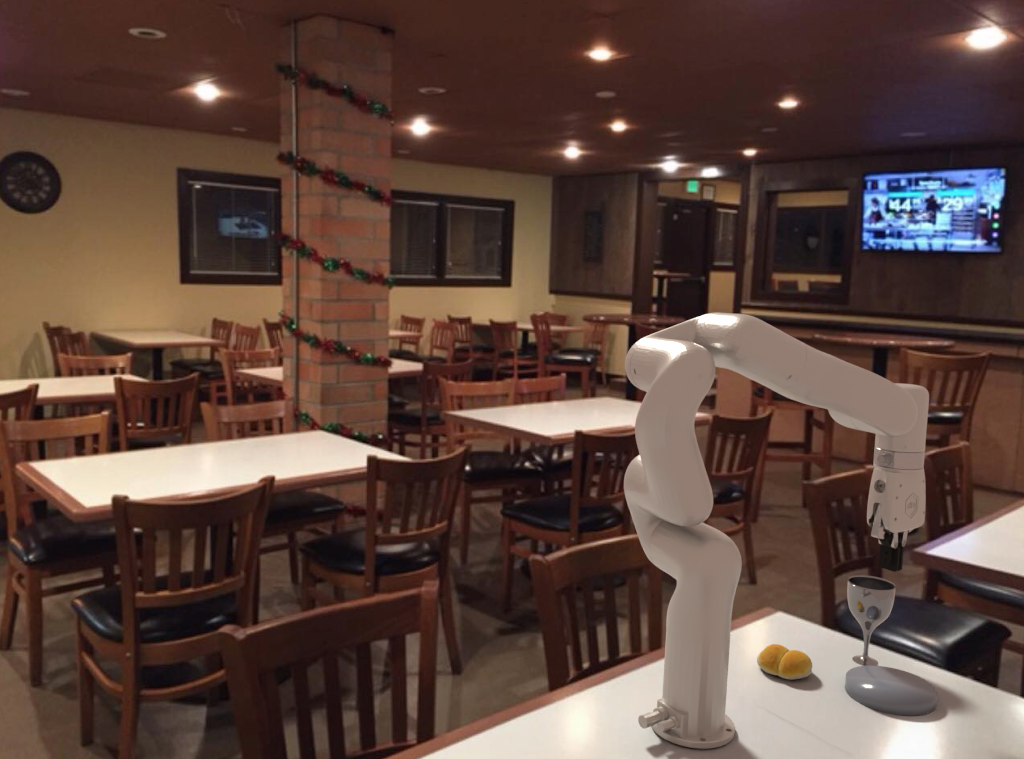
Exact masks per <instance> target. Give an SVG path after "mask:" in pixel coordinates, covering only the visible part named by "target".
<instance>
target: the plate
mask: <svg viewBox="0 0 1024 759" xmlns="http://www.w3.org/2000/svg"><path fill="white" fill-rule="evenodd" d="M844 689H845V692H846V694H848V696H849V697H851V699H853V700H854V701H856V702H857V703H859V704H860V705H861V704H862V705H863V706H865V707H868V708H870V709H873V710H875V711H879V712H882V713H886V714H891V715H897V716H903V717H904V716H905V717H908V716H909V717H916V716H917V717H918V716H924V715H925V716H926V715H927V714H930V713H932V712H934V711H935V710H936V707H937V702H938V700H937V699H938V691H937V688H935V686H934V685H933V684H932V683H931V682H929V681H928V680H926V679H924V677H923V678H922V677H920V676H919V675H916V674H913V673H912V672H909V671H905V670H902V669H898V668H894V667H890V666H881V665H877V666H863V665H860V666H856V667H852V668H850V669H849V670H847V671H846V674H845V682H844Z"/></svg>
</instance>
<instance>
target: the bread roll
mask: <svg viewBox="0 0 1024 759" xmlns="http://www.w3.org/2000/svg"><path fill="white" fill-rule="evenodd" d="M756 662H757V665H758V667H759V668H760V669H761V670H762V671H764V672H765V673H766V674H770V675H773V676H778V677H780V678H782V679H784V680H799V679H804V678H807V677H808V676H810V675H811V674H812V671H813V670H812V669H813V661H812V659H811V658H810V656H809V655H807V653H805V652H803V651H800V650H795V649H789V648H787V647H786V646H784V645H782V644H779V643H777V644H776V643H775V644H769V645H768V646H766V647H764V648H763V650H761V651H760V652H759V654H758V656H757V657H756Z"/></svg>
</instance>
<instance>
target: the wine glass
mask: <svg viewBox="0 0 1024 759" xmlns="http://www.w3.org/2000/svg"><path fill="white" fill-rule="evenodd" d="M846 590H847V592H846V594H847V596H846V597H847V603H848V608H849V611H850V612H851V614H852V616H853V617H854V618H855V620H856V621H857V622H858V624H859V625H860V627H861V630H862V634H863V652H862V655H854V656H853V657H852V658H851V659H852V661H853V662H854V663H855V664H858V665H860V666H879V661H878V660H877V659H876V658H873V657H871V656H870V655H869V647H870V642H871V636H872V633H873V632H874V631H875V629H876V628H877V627H878V626H880V625H881V624H882V623H884V622H885V620H887V619H888V617H890V615H891V612H892V610H893V606H894V603H895V597H896V596H895V595H896V584H895V583H894V582H893V581H890V580H889V579H888V580H887V579H886V578H882V577H878V576H874V575H873V576H872V575H865V574H864V575H863V574H862V575H861V574H859V575H851V576H849V577H848V579H847V589H846Z"/></svg>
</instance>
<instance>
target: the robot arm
mask: <svg viewBox="0 0 1024 759" xmlns="http://www.w3.org/2000/svg"><path fill="white" fill-rule="evenodd" d="M716 368H721V369H727V370H730V371H732V372H735V373H737V374H740V375H741V376H743V377H745V378H747V379H749V380H751V381H754V382H756V383H758V384H760V385H761V386H764V387H766V388H768V389H770V390H771V391H773V392H775V393H777V394H779V395H781V396H783V397H785V398H787V399H790V400H792V401H796V402H799V403H801V404H805V405H807V406H812V407H815V408H821V409H825V410H827V411H828V414H829V416H830V417H831V418H832V419H833V420H834V421H835V422H836V423H838V424H839V425H841V426H843V427H846V428H848V429H852V430H857V431H861V432H868V433H869V434H870V433H871V434H874V435H875V439H874V449H873V450H874V452H873V465H872V467H873V470H872V471H873V472H872V474H871V478H870V485H869V489H868V490H869V491H868V497H867V498H868V499H867V509H866V522H867V525H868V526H869V527H870V528H871V532H870V536H871V537H873V538H876V539H878V544H879V546H880V547H879V558H878V559H879V560H878V566H879V568H880V569H884V570H888V571H889V572H894V573H896V572H898V571H902V570H903V562H904V549H905V546H906V544H907V539H908V538H907V537H908V535H909V533H911V532H912V531H914V529H917V528H920V527H922V526H923V525H924V524H925V520H926V504H927V503H926V502H927V501H926V500H927V499H926V497H927V496H926V495H927V494H926V492H927V490H926V489H927V488H926V474H925V468H924V466H925V456H926V442H927V441H926V440H927V428H928V427H927V426H928V418H929V417H928V416H929V415H928V414H929V404H930V393H929V391H928V389H927V388H926V387H924V386H922V385H920V384H919V385H918V384H912V383H900V382H899V383H898V382H896V383H894V382H893V381H891V380H889V379H887V378H885V377H883V376H881V375H879V374H877V373H875V372H873V371H870V370H868V369H866V368H863V367H860V366H858V365H856V364H853V363H851V362H847V361H845V360H843V359H841V358H838V357H837V356H835V355H832V354H830V353H827V352H824V351H821V350H820V349H817V348H815V347H813V346H811V345H809V344H807V343H806V342H803V341H801V340H799V339H797V338H796V337H793V336H791V335H789V334H788V333H786V332H784V331H783V330H781V329H779V328H777V327H775V326H773V325H771V324H769V323H767V322H766V321H764V320H762V319H760V318H759V317H756V316H753V315H749V314H743V313H731V312H730V313H729V312H717V311H716V312H710V313H705V314H702V315H700V316H696V317H693V318H690V319H688V320H685V321H683V322H681V323H677V324H675V325H672V326H670V327H667V328H664V329H661V330H658V331H656V332H654V333H651V334H649V335H646V336H643V337H642V338H640V339H639V340H637V341H636V342H635V343H633V345H631V347H630V348H629V350H628V351H627V354H626V356H625V361H624V371H625V374H626V377H627V378H628V380H629V381H630V384H632V385H633V386H634V387H636V388H637V389H638V390H641V391H642V392H645V395H644V397H643V400H642V402H641V404H640V407H639V408H638V412H637V415H636V418H635V423H634V424H635V425H634V435H635V441H636V445H637V450H638V453H639V454H638V455H637V456H635V457H634V458H633V459H632V460H631V461H630V463H629V464H628V466H627V468H626V470H625V473H624V478H623V491H624V496H625V500H626V504H627V508H628V510H629V512H630V516H631V519H632V522H633V526H634V527H635V530H636V533H637V537H638V539H639V543H640V545H641V548H642V549H643V551H644V553H645V556H646V557H647V559H648V560H649V561H650V562H651V563H652V564H653V565H654V566H655V567H656V568H658V569H660V570H661V571H662V572H665V573H666V574H668V575H669V576H671V577H672V578H673V579H675V580H676V586H675V589H674V591H673V593H672V596H671V598H670V600H669V603H668V606H667V611H666V621H665V627H666V628H665V629H666V630H665V631H666V632H665V642H664V643H665V644H664V646H665V647H664V662H663V663H664V664H663V677H662V678H663V679H662V681H663V682H662V697H661V698H660V699H657V704H656V708H654V709H653V710H652V711H651V712H647V713H643V714H641V715H639V716H638V719H637V720H638V724H639V726H640V727H641V728H642V729H647V728H650V727H651V729H652V730H653V731H654V732H655V734H657V735H658V736H659V737H661V739H664V740H666V741H667V742H670V743H672V744H675V745H678V746H681V747H686V748H690V749H691V748H692V749H702V750H703V749H707V750H708V749H715V748H719V747H723V746H725V745H728V743H730V742H731V741H732V740H733V739H734V737H735V734H736V733H735V729H736V727H735V723H734V722H733V720H732V719H731V717H730V716H728V715H727V714H726V707H727V706H726V705H727V693H728V692H727V691H728V690H727V689H728V676H729V662H730V661H729V659H730V644H731V628H732V616H733V606H734V600H735V597H736V596H735V595H736V590H737V588H738V584H739V581H740V578H741V574H742V573H741V572H742V566H743V565H742V564H743V563H742V555H741V551H740V550H739V548H738V546H737V545H736V543H735V541H733V539H732V538H731V537H729V536H728V535H727V534H726V533H724V532H723V531H721V530H719V529H717V528H716V527H714V526H711V525H709V524H707V523H705V521H706V520H707V519H708V518H709V517H710V515H711V513H712V510H713V506H714V495H713V489H712V485H711V482H710V479H709V476H708V473H707V470H706V469H707V468H706V466H705V463H704V460H703V457H702V453H701V450H700V447H699V443H698V440H697V435H696V429H695V421H696V415H697V413H698V410H699V408H700V406H701V404H702V402H703V401H704V399H705V397H706V396H707V394H708V392H709V391H710V389H711V387H712V386H713V384H714V381H715V378H716V377H715V376H716Z"/></svg>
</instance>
